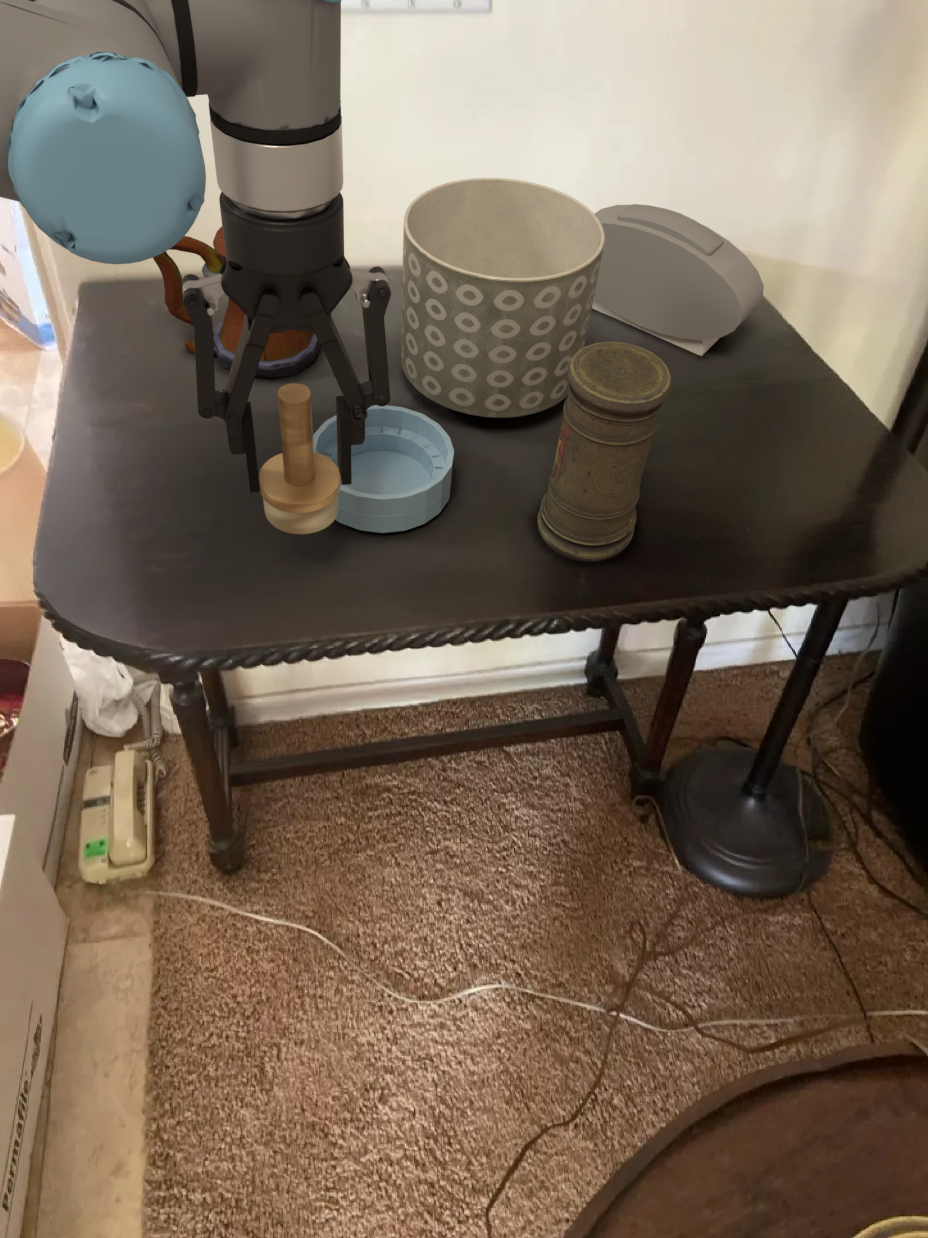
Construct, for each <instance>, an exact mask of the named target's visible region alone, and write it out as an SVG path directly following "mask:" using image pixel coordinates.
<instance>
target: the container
mask: <svg viewBox="0 0 928 1238" xmlns="http://www.w3.org/2000/svg"><path fill="white" fill-rule="evenodd" d="M567 375H568V380H569V382H568V389H569V394H568V396H567V397H566V398H565V399H566V400H565V401H564V403H563V415H562V416H563V417H562V419H561V420H562V421H561V425H560V429H559V435H558V442H557V447H556V452H555V455H554V459H553V460H554V462H553V467H552V471H551V473H550V475H549V478H548V490H547V491H546V493H544V496H543V497H542V499H541V503H540V508H539V511H538V513H537V520H536V521H537V523H536V524H537V529H538V533H539V535H540V537H541V539H542V540H543V542H544V543H545V545H546V546H548V547H549V548H550V549H551V550H553V552H556V554H559V555H561V556H563V557H565V558H568V559H571V560H574V561H580V562H589V563H590V562H601V561H606V560H609V559H612V558H614V557H616V556H618V555H620V554H621V553H622V552H624V550H625V549H626V548H627V547H628V546H629V544H630V543H631V541H632V539H633V537H634V533H635V525H636V522H637V509H636V506H637V503H638V501H639V499H640V495H641V494H640V493H641V483H642V479H643V474H644V470H645V466H646V464H647V460H648V455H649V452H650V449H651V445H652V442H653V437H654V434H655V431H656V429H657V428H658V424H659V412H660V410H661V408H662V407H663V406H664V402H665V401H666V399H667V398H668V397H669V395H670V393H671V388H672V377H671V373H670V371H669V369H668V366H667V365H666V363H665V362H664V361H663V360H662V359H661V358H660V357H659V356H657V354H656V353H653V352H652V351H650V350H648V349H646V348H644V347H642V346H638V345H635V344H632V343H628V342H621V341H620V342H619V341H602V342H601V341H600V342H595V343H593V344H589V345H585V347H584V348H582V349H581V350H579V351H578V352H577V353H576V354H575V355H574V356H573V357H572V359H571V361H570V363H569V365H568V370H567Z"/></svg>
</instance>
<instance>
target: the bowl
mask: <svg viewBox="0 0 928 1238" xmlns="http://www.w3.org/2000/svg"><path fill="white" fill-rule="evenodd" d="M367 414H368V416H367V418H366V419H365V440H364V442H363V444H361V445H351V474H352V484H348V485H342V482H341V487H340V492H339V494H338V500H339V510H338V515H337V517H336V518H335V520H334V521H336V522H338V523H339V524H341V525H344V526H347V527H350V528H353V529H355V530H358V531H362V532H370V533H379V534H387V533H396V532H405V531H407V530H411V529H414V528H417V527H419V526H422V525H425V524H427V523H428V522H430V521H431V520H432V519H433V518H435V517H436V516H438V515H440V513H441V512H442V510H443V509H444V508H445V506H446V505H447V503H448V502H449V500H450V498H451V492H452V486H453V485H452V484H453V474H454V463H455V462H454V461H455V449H454V446H453V443H452V439H451V437H450V435H449V434H448V433H447V432H446V430H444V428H443V427H442V426H441V425H440V423H438V422H436V421H435V420H434V419H432V418H430V417H429V416H427V415H425V414H424V413H422V412H418V411H416V410H413V409H409V408H407V407H404V406H396V405H389V404H387V405H386V406H378V405H374V406H371V407H369V408H368V409H367ZM313 446H314V452H316V453H319V454H322V455H324V456H326V457H328V458H329V459H331V460H332V461H333V462H334V463H335V464H336V466H337V467H338V456H337V416H336V414H335V415H333V416H332V417H330V418H328V419H326V420H325V421H324V422H323V423H322V424H321V425H320V426H319V427H318V429H317V430H316V431H315V432H313ZM338 469H339V467H338ZM340 478H341V477H340Z"/></svg>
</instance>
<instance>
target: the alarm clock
mask: <svg viewBox="0 0 928 1238" xmlns="http://www.w3.org/2000/svg"><path fill="white" fill-rule="evenodd" d="M594 214H595V215H596V217H597V218H598V219H599V221H600V223H601V224H602V227H603V230H604V234H605V242H604V247H603V252H602V258H601V263H600V268H599V273H598V279H597V284H596V289H595V294H594V300H593V305H592V309H593V310H595V311H597V312H599V313H601V314H605V315H606V316H609V317H611V318H613V319H616V320H618V321H620V322H622V323H624V324H627V325H630V326H631V327H633V328H636V329H638V330H641V331H643V332H645V333H648V334H650V335H652V336H653V337H657V338H659V339H661V340H664V341H666V342H668V343H671V344H673V345H675V346H677V347H680V348H682V349H683V350H687V351H689V352H691V353H693V354H695V355H698V356H700V357H702V356H703V355H704V354H706V352H708V351H709V349H711V347H712V346H714V345H715V343H716V342H717V341H718V340H719V339H720V338H723V337H725V336H727V335H730V334H731V333H733V332H735V331H736V330H737V328H738V327H739V326H741V325H742V324H743V323H744V322H745V320H747V319H748V318H749V317H750V316H751V315H752V314H753V313H754V311H755V310H757V308H758V307H759V305H760V304H761V303H762V301H763V300H764V287H765V286H764V283H763V280H762V278H761V276H760V273H759V271H758V269H757V268H756V267H755V265H754V264H753V263H752V261H751V260H750V259H749V258H748V256H747V255H746V254H745V253H743V251H741V250H740V249H739V248H738V247H736V246H735V244H733V243H732V242H731V241H730V240H729V239H727V238H725V237H724V236H722V235H721V234H719V233H717V232H716V231H715V230H713V229H711V228H710V227H708V226H706V225H704V224H702V223H700V222H698V221H697V220H695V219H693V218H691V217H689V216H687V215H685V214H682V213H680V212H677V211H674V210H670V209H668V208H664V207H661V206H660V207H659V206H654V205H651V204H650V205H649V204H636V203H635V204H634V203H633V204H615V205H611V206H608V207H607V206H606V207H603V208H601V209H599V210H598V211H596V212H594Z"/></svg>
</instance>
